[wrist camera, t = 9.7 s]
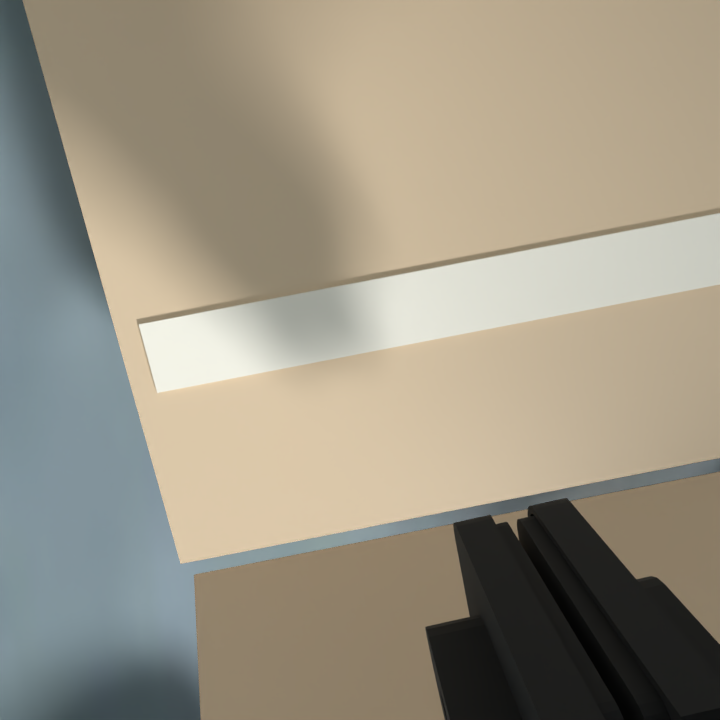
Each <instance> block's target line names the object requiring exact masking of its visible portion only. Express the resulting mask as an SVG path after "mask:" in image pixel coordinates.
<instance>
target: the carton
mask: <svg viewBox="0 0 720 720" xmlns="http://www.w3.org/2000/svg"><path fill="white" fill-rule="evenodd" d="M23 4H24V7H25V11H26V14H27V18H28V21H29V25H30V29H31V32H32V36H33V39H34V43H35V46H36V50H37V53H38V57H39V61H40V64H41V68H42V71H43V75H44V78H45V82H46V86H47V89H48V93H49V96H50V100H51V103H52V107H53V110H54V114H55V118H56V121H57V125H58V128H59V132H60V135H61V139H62V143H63V146H64V150H65V153H66V157H67V160H68V164H69V168H70V171H71V175H72V178H73V182H74V185H75V189H76V192H77V196H78V200H79V203H80V207H81V210H82V214H83V217H84V221H85V225H86V228H87V232H88V235H89V239H90V242H91V246H92V249H93V253H94V257H95V260H96V264H97V267H98V271H99V274H100V278H101V282H102V285H103V289H104V292H105V296H106V299H107V303H108V306H109V310H110V314H111V317H112V321H113V324H114V328H115V331H116V335H117V339H118V342H119V346H120V349H121V353H122V356H123V360H124V363H125V367H126V371H127V374H128V378H129V381H130V385H131V388H132V392H133V396H134V399H135V403H136V406H137V410H138V413H139V417H140V420H141V424H142V428H143V431H144V435H145V438H146V442H147V445H148V449H149V453H150V456H151V460H152V463H153V467H154V470H155V474H156V477H157V481H158V485H159V488H160V492H161V495H162V499H163V502H164V506H165V510H166V513H167V517H168V520H169V524H170V527H171V531H172V534H173V538H174V542H175V545H176V549H177V552H178V556H179V559H180V563H181V564H182V563H188V562H193V561H198V560H203V559H208V558H213V557H218V556H223V555H228V554H233V553H239V552H244V551H249V550H254V549H259V548H264V547H269V546H274V545H279V544H284V543H290V542H295V541H300V540H305V539H310V538H315V537H320V536H325V535H330V534H335V533H341V532H346V531H351V530H356V529H361V528H366V527H371V526H376V525H381V524H386V523H391V522H397V521H402V520H407V519H412V518H417V517H422V516H427V515H432V514H437V513H442V512H448V511H453V510H458V509H463V508H468V507H473V506H478V505H483V504H488V503H493V502H499V501H504V500H509V499H514V498H519V497H524V496H529V495H534V494H539V493H544V492H550V491H555V490H560V489H565V488H570V487H575V486H580V485H585V484H590V483H595V482H601V481H606V480H611V479H616V478H621V477H626V476H631V475H636V474H641V473H646V472H652V471H657V470H662V469H667V468H672V467H677V466H682V465H687V464H692V463H697V462H702V461H708V460H713V459H718V458H720V0H23Z"/></svg>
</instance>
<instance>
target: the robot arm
mask: <svg viewBox="0 0 720 720" xmlns="http://www.w3.org/2000/svg"><path fill="white" fill-rule="evenodd" d="M453 528H454V535H455V541H456V546H457V552H458V557H459V562H460V567H461V573H462V578H463V583H464V589H465V594H466V599H467V605H468V610H469V615H470V617H466V618H462V619H457V620H453V621H449V622H444V623H440V624H435V625H431V626H426V627H425V630H426V635H427V640H428V645H429V650H430V655H431V659H432V664H433V669H434V674H435V678H436V683H437V688H438V692H439V696H440V701H441V705H442V710H443V714H444V718H445V720H720V644H719V643H718V642H717V641H716V640H715V639H714V637H713V636H712V635H711V634H710V633H709V632H708V631H707V630H706V629H705V628H704V627H703V625H702V624H701V623H700V622H699V621H698V620H697V619H696V618H695V617H694V616H693V614H692V613H691V612H690V611H689V610H688V609H687V608H686V607H685V606H684V605H683V603H682V602H681V601H680V600H679V599H678V598H677V597H676V596H675V595H674V594H673V593H672V591H671V590H670V589H669V588H668V587H667V586H666V585H665V584H664V583H663V582H662V581H661V580H659V579H658V578H657V577H653V576H649V577H644V578H640V579H636V578H635V577H634V576H633V575H632V574H631V572H630V571H629V570H628V569H627V568H626V567H625V565H624V564H623V563H622V562H621V561H620V560H619V558H618V557H617V556H616V555H615V554H614V552H613V551H612V550H611V549H610V548H609V547H608V545H607V544H606V543H605V542H604V541H603V539H602V538H601V537H600V536H599V535H598V534H597V532H596V531H595V530H594V529H593V528H592V527H591V525H590V524H589V523H588V522H587V521H586V519H585V518H584V517H583V516H582V515H581V514H580V512H579V511H578V510H577V509H576V508H575V507H574V505H573V504H572V503H571V502H570V501H569V500H568V499H567V498H564V499H560V500H555V501H551V502H546V503H542V504H537V505H533V506H529V507H528V517H525V518H521V519H518V520H517V531H518V537H519V540H518V538H517V537H516V535H515V533H514V532H513V530H512V528H511V527H510V525H509V524H508V522H503V523H498V524H496V523H495V522H494V520H493V518H492V517H491V515H488V516H483V517H479V518H474V519H470V520H465V521H461V522H456V523H453Z"/></svg>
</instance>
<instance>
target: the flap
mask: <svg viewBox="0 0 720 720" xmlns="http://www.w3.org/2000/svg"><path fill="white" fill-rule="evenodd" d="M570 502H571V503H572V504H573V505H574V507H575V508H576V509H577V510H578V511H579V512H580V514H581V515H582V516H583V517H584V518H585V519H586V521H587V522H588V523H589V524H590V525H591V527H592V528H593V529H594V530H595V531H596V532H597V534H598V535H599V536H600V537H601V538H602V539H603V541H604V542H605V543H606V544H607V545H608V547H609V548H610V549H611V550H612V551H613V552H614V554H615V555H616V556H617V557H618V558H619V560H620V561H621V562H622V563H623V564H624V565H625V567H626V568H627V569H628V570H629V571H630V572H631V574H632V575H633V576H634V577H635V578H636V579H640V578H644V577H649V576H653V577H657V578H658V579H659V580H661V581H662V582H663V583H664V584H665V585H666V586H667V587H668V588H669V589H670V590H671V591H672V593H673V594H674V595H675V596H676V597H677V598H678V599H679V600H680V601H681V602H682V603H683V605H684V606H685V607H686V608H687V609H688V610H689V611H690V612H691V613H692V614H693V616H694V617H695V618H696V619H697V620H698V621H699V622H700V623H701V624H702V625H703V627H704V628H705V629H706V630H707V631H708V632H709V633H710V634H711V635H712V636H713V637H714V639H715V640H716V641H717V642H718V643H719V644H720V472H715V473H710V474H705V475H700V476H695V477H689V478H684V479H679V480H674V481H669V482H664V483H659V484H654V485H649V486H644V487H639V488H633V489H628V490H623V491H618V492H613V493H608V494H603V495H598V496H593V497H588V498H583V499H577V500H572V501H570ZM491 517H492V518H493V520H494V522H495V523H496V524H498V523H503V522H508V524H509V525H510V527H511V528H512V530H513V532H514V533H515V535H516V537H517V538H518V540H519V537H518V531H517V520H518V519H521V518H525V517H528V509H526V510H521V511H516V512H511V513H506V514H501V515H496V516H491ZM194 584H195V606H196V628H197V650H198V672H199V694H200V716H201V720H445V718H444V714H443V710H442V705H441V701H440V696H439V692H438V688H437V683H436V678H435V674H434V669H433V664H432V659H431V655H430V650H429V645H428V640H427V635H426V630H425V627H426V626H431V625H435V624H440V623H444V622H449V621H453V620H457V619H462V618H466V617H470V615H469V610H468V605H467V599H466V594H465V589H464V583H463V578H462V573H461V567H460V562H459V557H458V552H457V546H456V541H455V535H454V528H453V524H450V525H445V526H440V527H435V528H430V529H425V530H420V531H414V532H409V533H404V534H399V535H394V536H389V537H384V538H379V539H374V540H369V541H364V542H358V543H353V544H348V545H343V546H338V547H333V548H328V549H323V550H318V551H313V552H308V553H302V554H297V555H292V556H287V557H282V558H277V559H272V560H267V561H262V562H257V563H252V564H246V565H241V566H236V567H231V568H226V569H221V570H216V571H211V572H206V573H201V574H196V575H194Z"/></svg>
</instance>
